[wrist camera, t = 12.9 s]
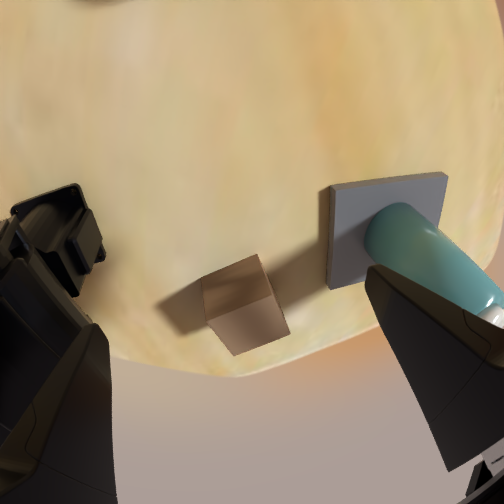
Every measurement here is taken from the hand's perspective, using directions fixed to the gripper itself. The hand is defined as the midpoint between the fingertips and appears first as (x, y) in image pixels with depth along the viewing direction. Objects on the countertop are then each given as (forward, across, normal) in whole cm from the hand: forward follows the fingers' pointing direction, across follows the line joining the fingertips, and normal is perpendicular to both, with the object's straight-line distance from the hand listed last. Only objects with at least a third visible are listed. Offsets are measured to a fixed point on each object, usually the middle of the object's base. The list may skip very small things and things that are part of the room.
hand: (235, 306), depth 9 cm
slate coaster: (+13, -15, +8) cm, 21 cm away
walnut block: (+13, -1, +11) cm, 17 cm away
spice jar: (+12, -15, +8) cm, 21 cm away
